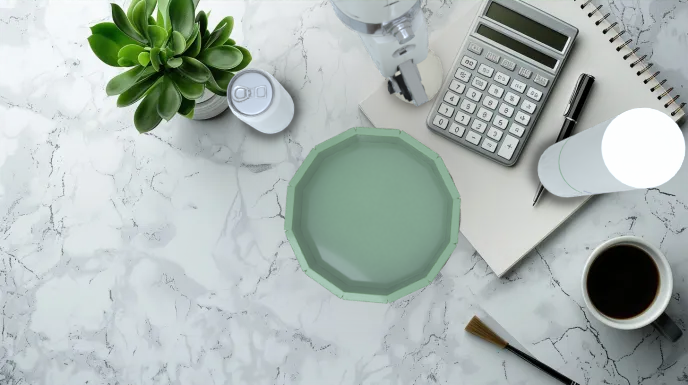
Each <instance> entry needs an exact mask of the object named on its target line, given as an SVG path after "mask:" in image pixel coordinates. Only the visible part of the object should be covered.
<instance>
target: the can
mask: <svg viewBox="0 0 688 385" xmlns="http://www.w3.org/2000/svg"><path fill="white" fill-rule="evenodd" d="M226 97H227V98H226V100H227V105H228V107H229V109H230V110H231V112H232V114H234V116H236V117H237V118H238V119H239V120H241V121H242V122H244V123H245V124H247V125H248V126H250V127H252V128H253V129H255V130H257V131H258V132H261V133H263V134H269V135H270V134H271V135H272V134H277V133H279V132H281V131H284V130H285V129H286V128H287V127H288V126H289V125H290V124H291V122H292V121H293V119H294V115H295V104H294V101H293V98H292V96H291V94H290V93H289V92H288V91H287V90H286V89H285V87H284V86H283V85H282V84H281V83H280V82H279V80H277V78H276V77H275V76H274V75H272V74H271V73H270V72H268V71H267V70H264V69H261V68H255V67H254V68H246V69H242V70H240V71H238V72H237V73H235V74H234V75H233V76H232V78H231V79H230V81H229V83H228V85H227V88H226Z"/></svg>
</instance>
